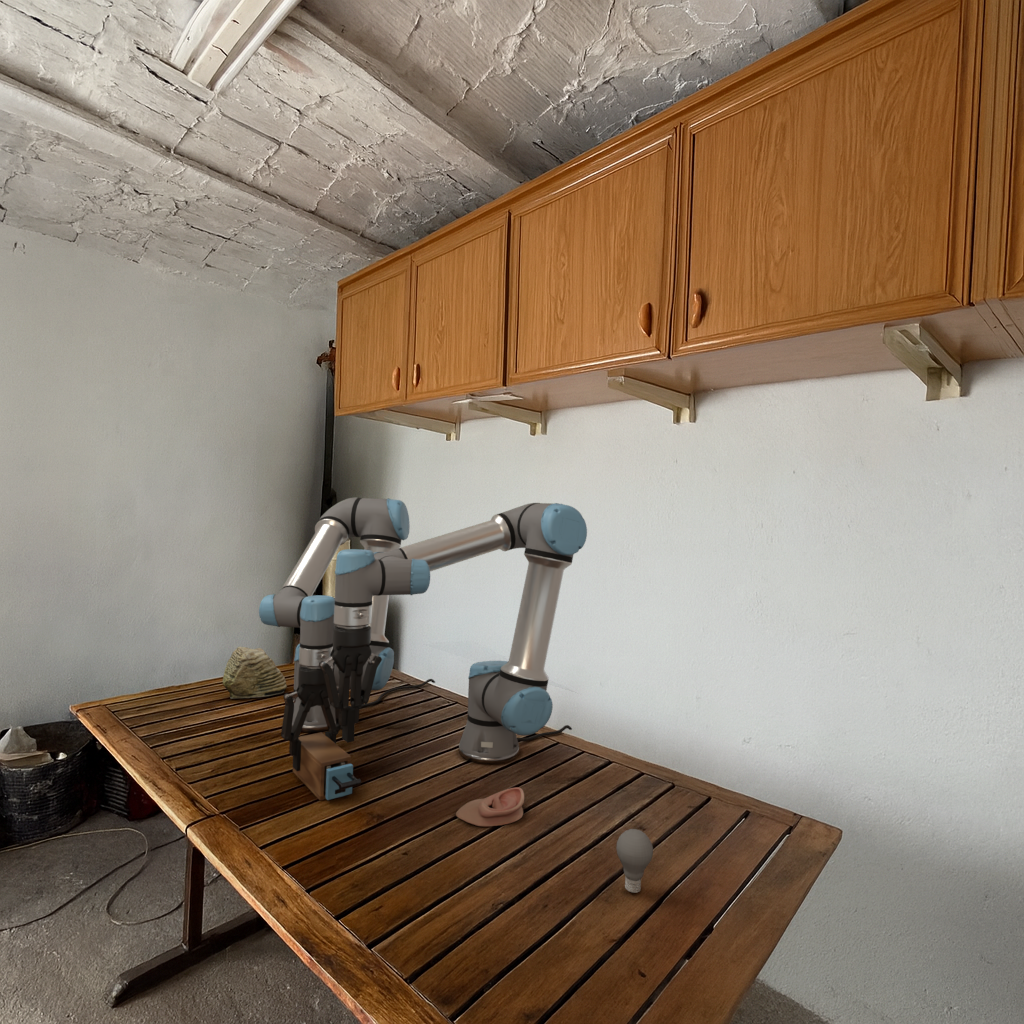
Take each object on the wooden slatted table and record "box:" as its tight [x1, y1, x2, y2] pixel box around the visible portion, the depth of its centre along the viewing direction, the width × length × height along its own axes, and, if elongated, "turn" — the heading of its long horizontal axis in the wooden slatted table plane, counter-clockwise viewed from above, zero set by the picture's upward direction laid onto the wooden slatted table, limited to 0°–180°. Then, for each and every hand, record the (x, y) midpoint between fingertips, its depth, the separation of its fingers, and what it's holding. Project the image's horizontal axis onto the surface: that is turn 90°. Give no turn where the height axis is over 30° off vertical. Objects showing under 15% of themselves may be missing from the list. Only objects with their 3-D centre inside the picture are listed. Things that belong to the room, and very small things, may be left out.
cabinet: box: [292, 731, 352, 801], centre depth 141 cm, size 16×7×8 cm, turn 38°
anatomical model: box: [455, 786, 525, 827], centre depth 129 cm, size 13×4×12 cm
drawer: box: [324, 762, 362, 801], centre depth 136 cm, size 21×5×6 cm, turn 38°
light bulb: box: [615, 828, 654, 894], centre depth 106 cm, size 6×6×10 cm
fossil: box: [222, 646, 288, 699], centre depth 198 cm, size 9×18×15 cm, turn 132°
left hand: (312, 764), depth 144 cm, fingers closed on cabinet, 7 cm apart
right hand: (348, 739), depth 130 cm, fingers closed
